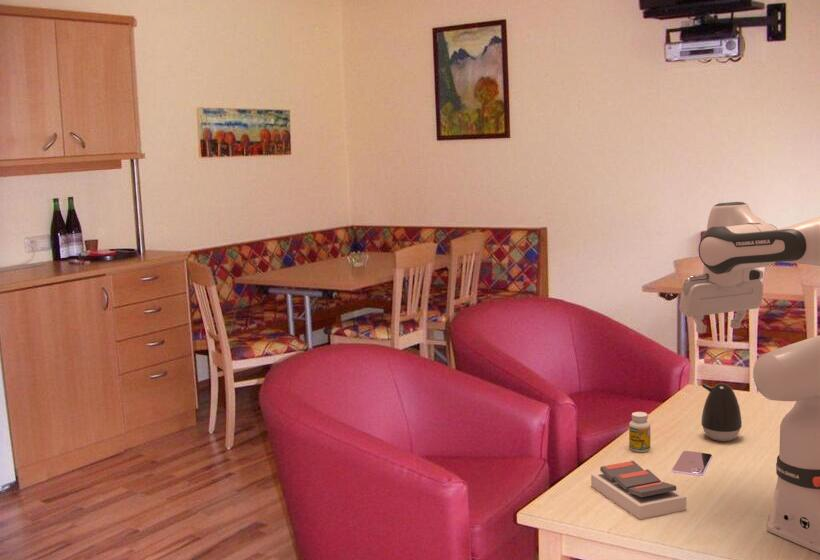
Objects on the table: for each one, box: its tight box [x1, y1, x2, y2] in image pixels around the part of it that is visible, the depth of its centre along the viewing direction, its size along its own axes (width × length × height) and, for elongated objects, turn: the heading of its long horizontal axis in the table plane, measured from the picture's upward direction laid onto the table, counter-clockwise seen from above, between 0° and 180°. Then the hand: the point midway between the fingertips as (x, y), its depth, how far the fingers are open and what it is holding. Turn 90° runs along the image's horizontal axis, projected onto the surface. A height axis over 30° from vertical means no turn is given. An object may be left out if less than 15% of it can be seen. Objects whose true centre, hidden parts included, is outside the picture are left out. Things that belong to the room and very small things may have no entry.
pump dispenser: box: [700, 382, 743, 442], centre depth 243 cm, size 10×10×15 cm
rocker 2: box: [614, 468, 662, 491], centre depth 207 cm, size 5×9×1 cm, turn 110°
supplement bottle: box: [628, 411, 651, 453], centre depth 237 cm, size 5×5×10 cm
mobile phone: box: [671, 450, 713, 477], centre depth 227 cm, size 8×1×15 cm
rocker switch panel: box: [590, 471, 687, 520], centre depth 208 cm, size 20×12×3 cm, turn 20°
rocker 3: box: [629, 481, 677, 497], centre depth 202 cm, size 5×9×1 cm, turn 109°
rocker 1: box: [599, 460, 644, 481], centre depth 213 cm, size 5×9×1 cm, turn 110°
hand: (718, 330), depth 209 cm, fingers open, 8 cm apart
